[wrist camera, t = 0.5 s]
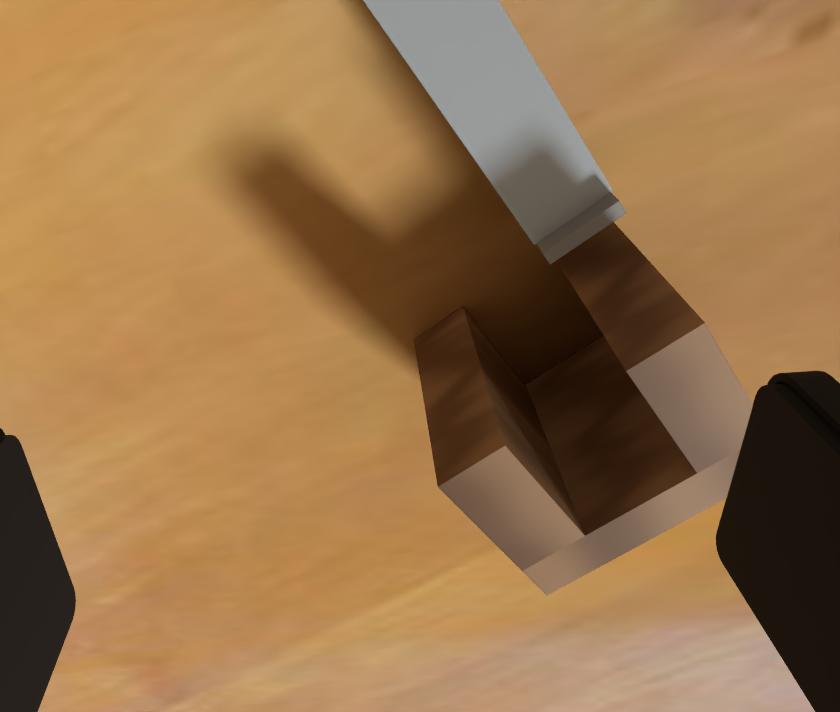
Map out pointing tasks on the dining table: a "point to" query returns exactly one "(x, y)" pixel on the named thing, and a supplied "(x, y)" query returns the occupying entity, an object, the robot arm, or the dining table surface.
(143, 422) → the dining table surface
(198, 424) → the dining table surface
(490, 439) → the brown wooden u-shaped block
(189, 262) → the dining table surface
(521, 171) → the rail
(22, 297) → the dining table surface
